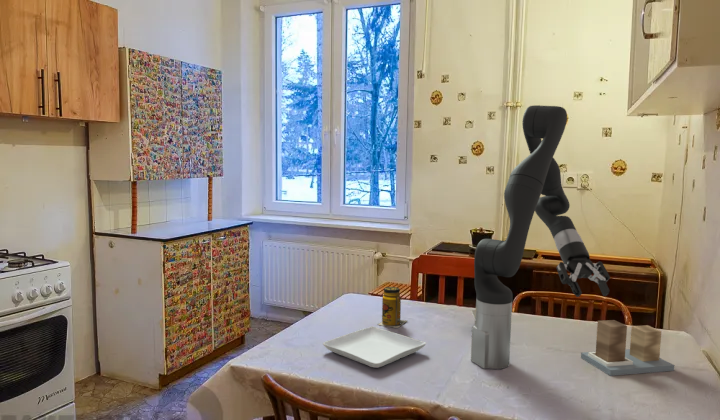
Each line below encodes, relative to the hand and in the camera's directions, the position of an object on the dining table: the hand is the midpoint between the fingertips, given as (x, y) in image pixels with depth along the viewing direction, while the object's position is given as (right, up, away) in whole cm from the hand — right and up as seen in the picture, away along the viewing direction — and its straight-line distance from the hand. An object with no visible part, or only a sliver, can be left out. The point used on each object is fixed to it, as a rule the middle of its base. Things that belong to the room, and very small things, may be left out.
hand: (593, 295), depth 144 cm
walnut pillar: (+1, -16, -7) cm, 18 cm away
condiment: (-55, -14, +26) cm, 62 cm away
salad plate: (-61, -17, 0) cm, 64 cm away
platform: (-27, -15, +22) cm, 38 cm away
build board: (+6, -18, -6) cm, 20 cm away
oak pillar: (+12, -16, -5) cm, 21 cm away
